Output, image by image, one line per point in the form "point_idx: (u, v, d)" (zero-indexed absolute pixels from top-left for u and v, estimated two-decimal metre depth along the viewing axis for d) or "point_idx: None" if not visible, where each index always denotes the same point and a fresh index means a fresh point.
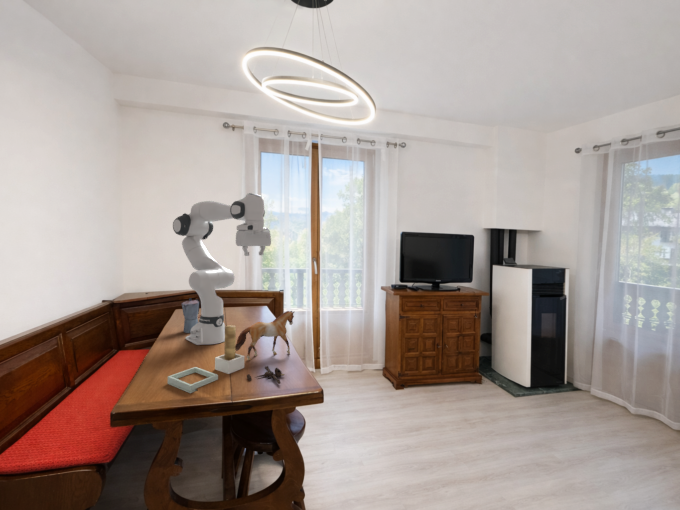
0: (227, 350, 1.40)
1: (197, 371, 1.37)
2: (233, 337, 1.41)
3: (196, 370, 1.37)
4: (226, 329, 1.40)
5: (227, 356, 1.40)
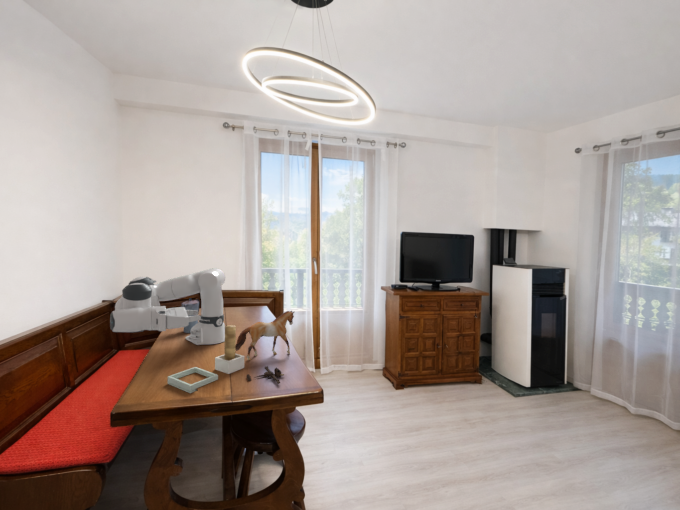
0: (227, 350, 1.40)
1: (197, 371, 1.37)
2: (233, 337, 1.41)
3: (196, 370, 1.37)
4: (226, 329, 1.40)
5: (227, 356, 1.40)
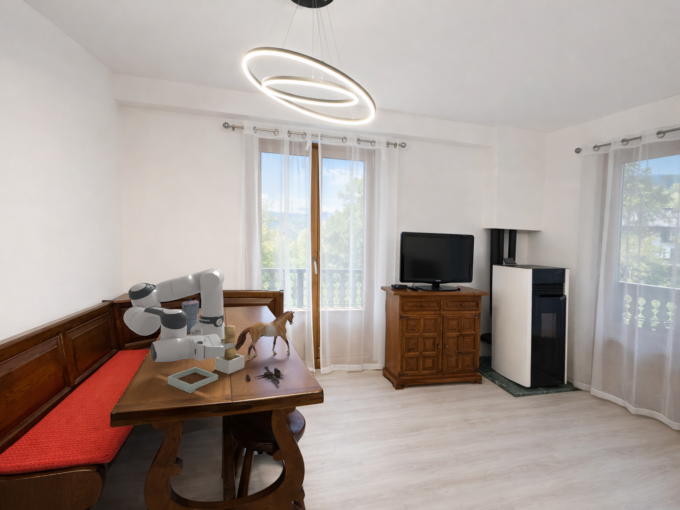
0: (227, 350, 1.40)
1: (197, 371, 1.37)
2: (233, 337, 1.40)
3: (196, 370, 1.37)
4: (226, 329, 1.40)
5: (227, 356, 1.40)
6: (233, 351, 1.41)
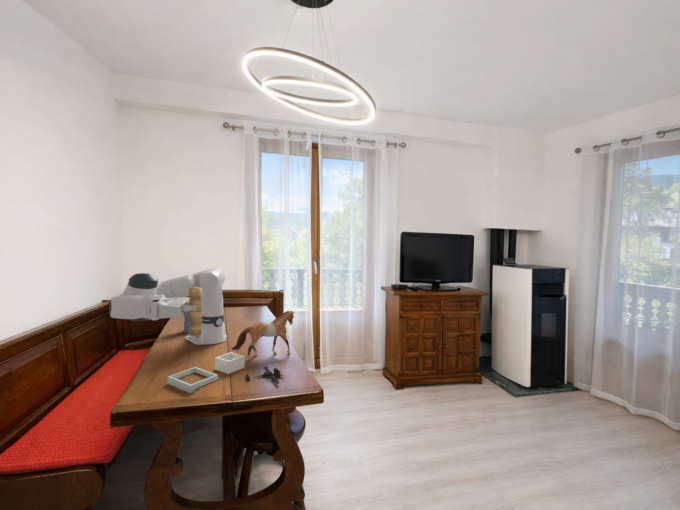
0: (191, 313, 1.27)
1: (197, 371, 1.37)
2: (197, 299, 1.27)
3: (196, 370, 1.37)
4: (190, 290, 1.27)
5: (190, 320, 1.27)
6: (198, 315, 1.28)
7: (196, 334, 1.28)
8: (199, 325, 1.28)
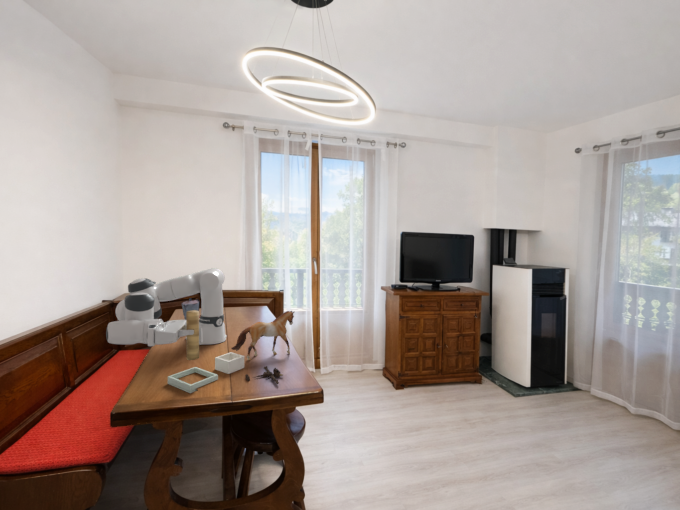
0: (188, 338, 1.26)
1: (197, 371, 1.37)
2: (194, 323, 1.26)
3: (196, 370, 1.37)
4: (187, 314, 1.26)
5: (187, 344, 1.26)
6: (195, 339, 1.27)
7: (193, 358, 1.27)
8: (196, 349, 1.28)
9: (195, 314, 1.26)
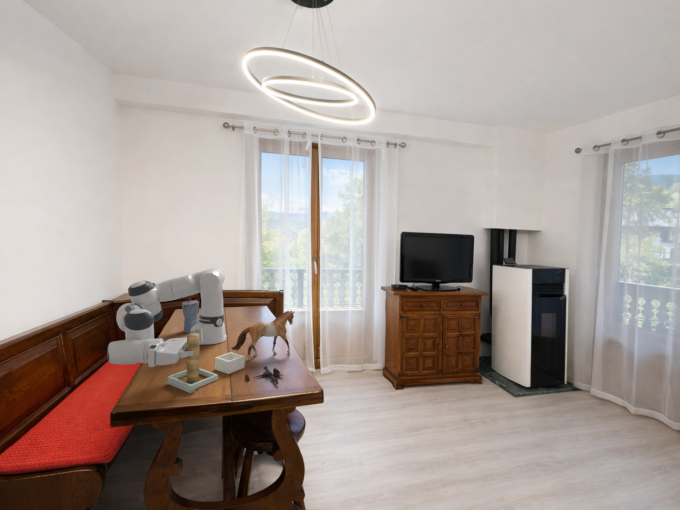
0: (188, 361, 1.27)
1: None
2: (194, 347, 1.27)
3: None
4: (187, 337, 1.27)
5: (188, 367, 1.28)
6: (195, 362, 1.28)
7: (193, 381, 1.28)
8: (196, 372, 1.29)
9: (195, 337, 1.28)
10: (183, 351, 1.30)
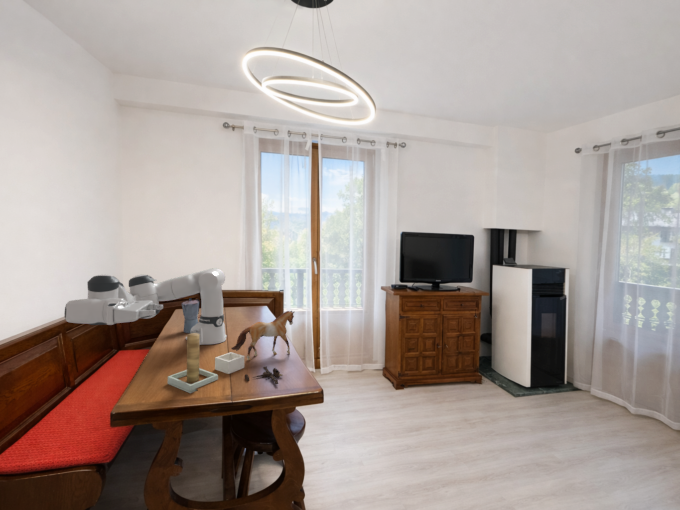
0: (188, 361, 1.27)
1: None
2: (195, 347, 1.27)
3: None
4: (187, 337, 1.27)
5: (188, 367, 1.28)
6: (195, 362, 1.28)
7: (193, 381, 1.28)
8: (196, 372, 1.29)
9: (196, 337, 1.28)
10: None
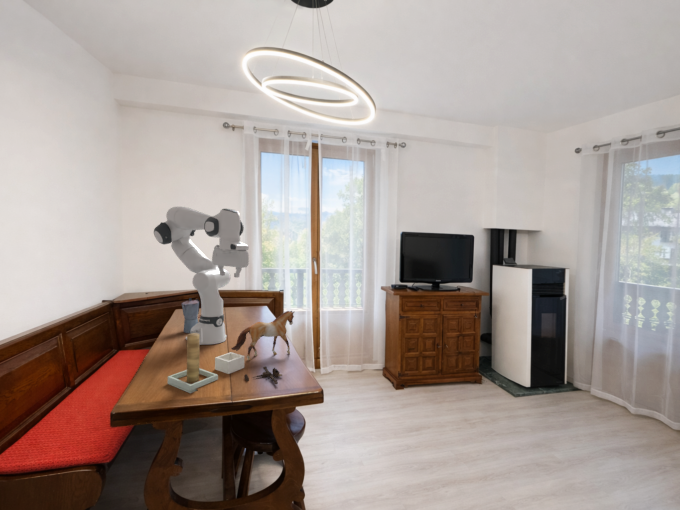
0: (188, 361, 1.27)
1: None
2: (195, 347, 1.27)
3: None
4: (187, 337, 1.27)
5: (188, 367, 1.28)
6: (195, 362, 1.28)
7: (193, 381, 1.28)
8: (196, 372, 1.29)
9: (196, 337, 1.28)
10: (225, 265, 1.49)
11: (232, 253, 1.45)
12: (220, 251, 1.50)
